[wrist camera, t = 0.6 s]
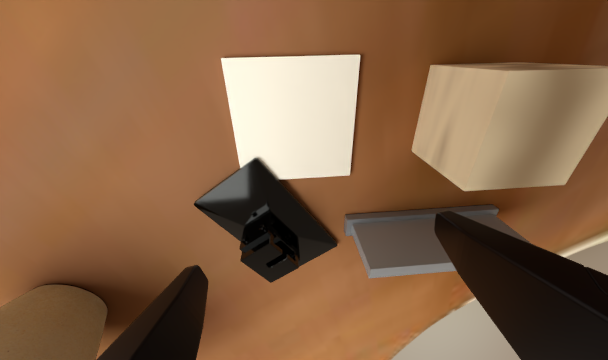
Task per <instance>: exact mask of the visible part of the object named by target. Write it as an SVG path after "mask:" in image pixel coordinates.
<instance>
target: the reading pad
mask: <svg viewBox="0 0 608 360" xmlns="http://www.w3.org/2000/svg"><path fill="white" fill-rule="evenodd" d="M221 61H222V67H223V72H224V78H225V84H226V89H227V95H228V101H229V107H230V112H231V118H232V124H233V129H234V135H235V141H236V146H237V152H238V158H239V163H240V168H241V167H243V166H244V165H246V164H247V163H248V162H250V161H251V160H252V159H254V158H258V159H259V160H260V161H261V162H262V163H263V164H264V165H265V166H266V167H267V169H268V170H269V171H270V172H271V173H272V174H273V175H274V176H275V177H276V178H277V179H278V180H279V179H297V178H314V177H331V176H348V175H350V169H351V157H352V146H353V134H354V123H355V111H356V100H357V88H358V77H359V66H360V55H324V56H285V57H246V58H221Z"/></svg>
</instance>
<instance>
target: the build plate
mask: <svg viewBox="0 0 608 360" xmlns="http://www.w3.org/2000/svg"><path fill="white" fill-rule="evenodd" d="M194 205H195V207H197V208H198V209H199V210H201V211H202V212H203V213H205V214H206V215H207V216H208V217H210V218H211V219H212V220H214V221H215V222H216V223H217V224H219V225H220V226H221V227H223V228H224V229H225V230H226V231H228V232H229V233H230V234H232V235H233V236H234V237H236V238H237V239H238V240H239V241H241V244H240V250H241V251H242V255H241V262H243V263H244V264H245V265H247V266H248V267H250V268H251V269H252V270H254V271H255V272H257V273H258V274H259V275H261V276H262V277H264V278H265V279H266V280H268V281H269V282H270V283H271V282H273V281H275V280H277V279H279V278H281V277H283V276H284V275H286V274H288V273H290V272H292V271H294V270H295V269H297V268H299V266H301V265H303V264H305V263H307V262H308V261H310V260H312V259H314V258H316V257H318V256H320V255H321V254H323V253H325V252H327V251H329V250H331V249H332V248H334V247H336V246H337V242H336V241H335V240H334V239H333V238H332V237H331V236H330V235H329V234H328V233H327V231H326V230H325V229H324V228H323V227H322V226H321V225H320V224H319V223H318V222H317V221H316V220H315V219H314V218H313V217H312V215H311V214H310V213H309V212H308V211H307V210H306V209H305V208H304V207H303V206H302V205H301V204H300V203H299V202H298V201H297V199H296V198H295V197H294V196H293V195H292V194H291V193H290V192H289V191H288V190H287V189H286V188H285V187H284V186H283V185H282V183H281V182H280V181H279V180H278V179H277V178H276V177H275V176H274V175H273V174H272V173H271V172H270V171H269V170H268V169H267V167H266V166H265V165H264V164H263V163H262V162H261V161H260V160H259V159H258V158H254V159H252V160H251V161H250V162H248V163H247V164H246V165H244V166H243V167H241V168H240V169H239V170H237V171H236V172H235V173H233V174H232V175H230V176H229V177H228V178H226V179H225V180H224V181H222V182H221V183H220V184H218V185H217V186H215V187H214V188H213V189H211V190H210V191H209V192H207V193H206V194H204V195H203V196H202V197H200V198H199V199H198V200H196V201H195V203H194Z"/></svg>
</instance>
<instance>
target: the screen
mask: <svg viewBox="0 0 608 360" xmlns="http://www.w3.org/2000/svg"><path fill="white" fill-rule="evenodd" d="M445 210H450V211H452V212H455V213H457V214H460V215H462V216H465V217H467V218H470V219H472V220H474V221H477V222H479V223H482V224H484V225H487V226H489V227H491V228H494V229H496V230H499V231H501V232H504V233H506V234H508V235H511V236H513V237H516V238H518V239H521V240H523V241H525V242H528V243H530V242H529V241H527V240H526V239H525V238H523V237H522V236H521V235H519V234H518V233H517V232H516V231H514V230H513V229H512V228H510V227H509V226H508V225H506V224H505V223H504V222H503V221H501V220H500V219H499V218H497V217H496V215H497V213H498V211H499V209H498V208H497V207H495V206H494V205H479V206H464V207H449V208H435V209H420V210H406V211H391V212H377V213H362V214H348V215H345V223H344V232H345V235H346V236H353V238H354V240H355V243H356V245H357V248H358V251H359V253H360V256H361V259H362V261H363V264H364V266H365V269H366V272H367V274H368V277H369V278H377V277H389V276H401V275H412V274H424V273H435V272H447V271H457V270H456V269H455V267H454V266H453V264H452V262H451V260H450V259H449V257H448V255H447V254H446V252H445V250H444V248H443V247H442V245H441V243H440V242H439V240H438V238H437V236H436V234H435V231H434V225H435V215H436V213H437V212H440V211H445ZM530 244H531V243H530Z"/></svg>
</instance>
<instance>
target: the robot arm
mask: <svg viewBox="0 0 608 360" xmlns="http://www.w3.org/2000/svg"><path fill="white" fill-rule="evenodd" d="M434 231H435V234H436V236H437V238H438V240H439V242H440V243H441V245H442V247H443V248H444V250H445V252H446V254H447V255H448V257H449V259H450V260H451V262H452V264H453V266H454V267H455V269H456V270H457V272H458V274H459V275H460V276H461V278H462V279H463V281H464V282H465V283H466V285H467V286H468V288H469V289H470V290H471V292H472V293H473V294H474V296H475V297H476V299H477V300H478V301H479V303H480V304H481V305H482V307H483V308H484V310H485V311H486V312H487V314H488V315H489V316H490V318H491V319H492V321H493V322H494V323H495V325H496V326H497V327H498V329H499V330H500V332H501V333H502V334H503V335H504V337H505V338H506V340H507V341H508V343H509V344H510V345H511V346H512V348H513V349H514V351H515V352H516V353H517V355H518V356H519V358H520V359H521V360H608V275H606V274H603V273H601V272H598V271H596V270H593V269H591V268H589V267H584V266H583V265H581V264H579V263H576V262H574V261H572V260H569V259H567V258H564V257H562V256H559V255H557V254H555V253H552V252H550V251H547V250H545V249H542V248H540V247H538V246H535V245H533V244H530V243H528V242H525V241H523V240H521V239H518V238H516V237H513V236H511V235H508V234H506V233H504V232H501V231H499V230H496V229H494V228H491V227H489V226H487V225H484V224H482V223H479V222H477V221H474V220H472V219H470V218H467V217H465V216H462V215H460V214H457V213H455V212H452V211H450V210H445V211H440V212H437V213H436V215H435V225H434ZM207 291H208V279H207V277H206V276H205V274H204V273H203V271H202V270H201V268H200V267H199V266H198V265H194V266H190V267H186V268H185V269H184V270H183V271H182V272H181V273H180V274H179V275H178V276H177V277H176V278H175V279H174V280H173V281H172V282H171V283H170V284H169V286H168V287H167V288H166V289H165V290H164V291H163V292H162V293H161V294H160V295H159V296H158V297H157V298H156V299H155V300H154V301H153V302H152V303H151V304H150V305H149V306H148V307H147V308H146V309H145V310H144V311H143V312H142V313H141V314H140V315H139V316H138V317H137V319H136V320H135V321H134V322H133V323H132V324H131V325H130V326H129V327H128V328H127V329H126V330H125V331H124V332H123V333H122V334H121V335H120V336H119V337H118V338H117V339H116V340H115V341H114V342H113V343H112V344H111V345H110V346H109V347H108V348H107V349H106V350H105V351H104V353H103V354H102V355H101V356H100V357H99V358H98V359H97V360H196V357H197V352H198V348H199V343H200V339H201V334H202V329H203V323H204V316H205V307H206V299H207Z"/></svg>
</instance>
